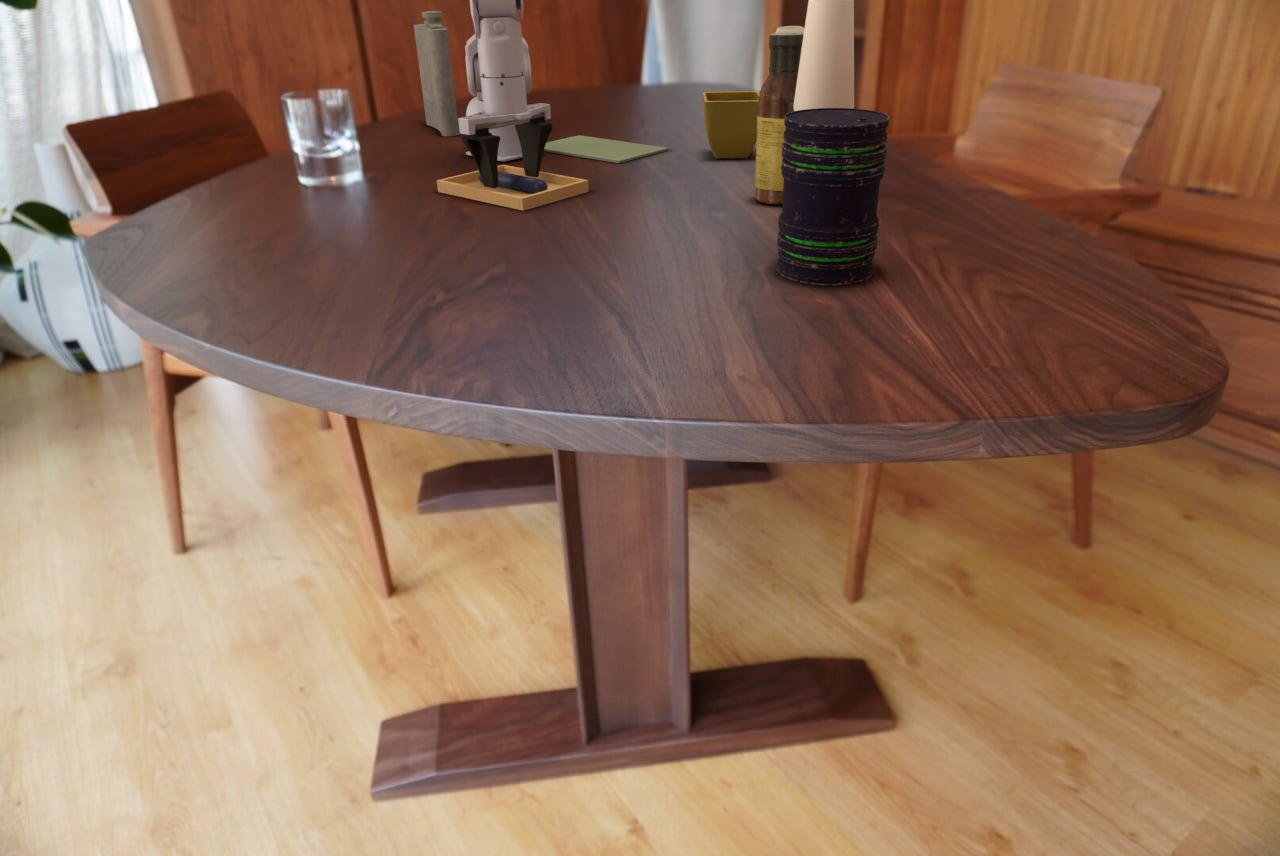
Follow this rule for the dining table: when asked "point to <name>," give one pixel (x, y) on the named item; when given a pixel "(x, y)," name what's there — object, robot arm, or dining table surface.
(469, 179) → the tray
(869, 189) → the black cylinder
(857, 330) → the dining table surface
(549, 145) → the mat
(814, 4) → the cream tapered cone
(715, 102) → the flower pot
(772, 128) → the sauce bottle
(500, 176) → the pen
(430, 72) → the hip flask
